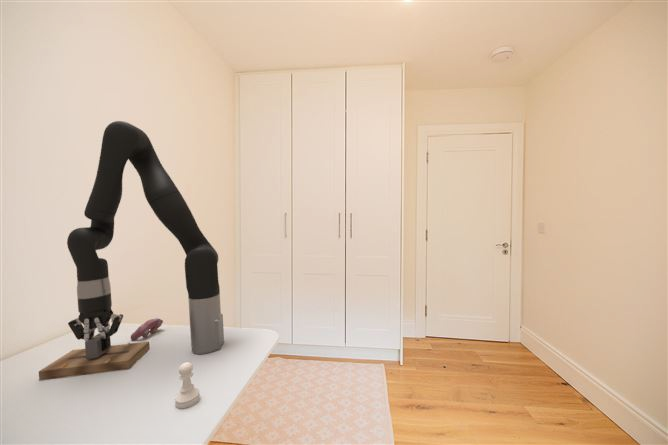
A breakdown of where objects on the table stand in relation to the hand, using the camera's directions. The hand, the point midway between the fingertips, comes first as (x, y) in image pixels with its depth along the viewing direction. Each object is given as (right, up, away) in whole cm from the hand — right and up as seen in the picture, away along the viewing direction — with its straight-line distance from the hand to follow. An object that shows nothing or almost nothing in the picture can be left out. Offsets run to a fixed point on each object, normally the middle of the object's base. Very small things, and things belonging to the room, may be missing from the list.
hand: (98, 350), depth 82 cm
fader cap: (0, -1, 0) cm, 1 cm away
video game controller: (+2, -4, +19) cm, 19 cm away
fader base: (0, -4, 0) cm, 4 cm away
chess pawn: (+37, -3, -19) cm, 42 cm away
